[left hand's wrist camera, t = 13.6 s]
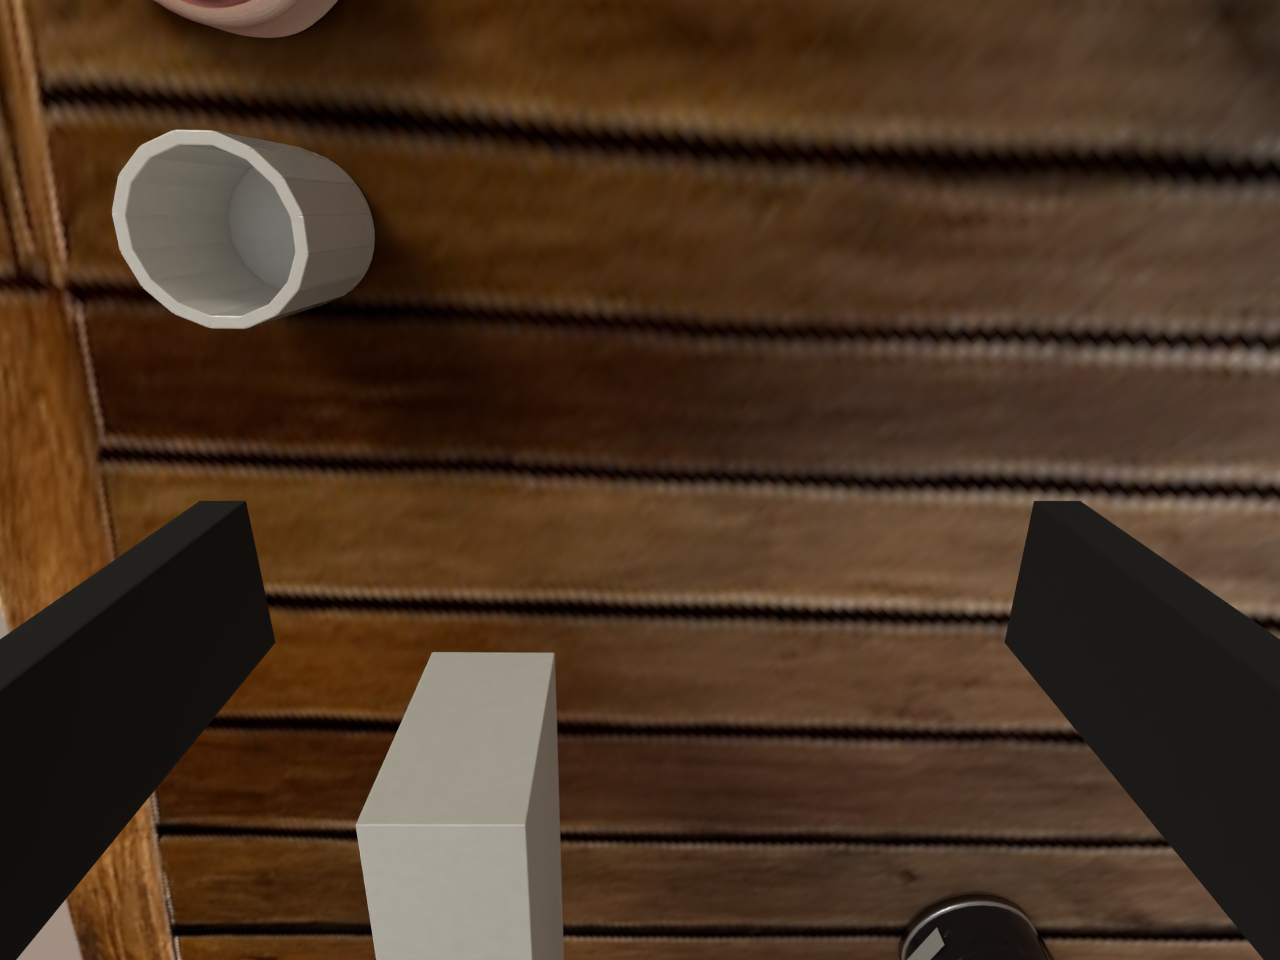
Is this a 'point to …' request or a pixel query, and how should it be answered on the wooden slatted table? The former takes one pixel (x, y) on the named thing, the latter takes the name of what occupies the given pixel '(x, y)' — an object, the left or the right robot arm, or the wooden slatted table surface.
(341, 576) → the wooden slatted table surface
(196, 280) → the white cup
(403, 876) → the grey bar
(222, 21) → the anatomical model
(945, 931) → the right robot arm
